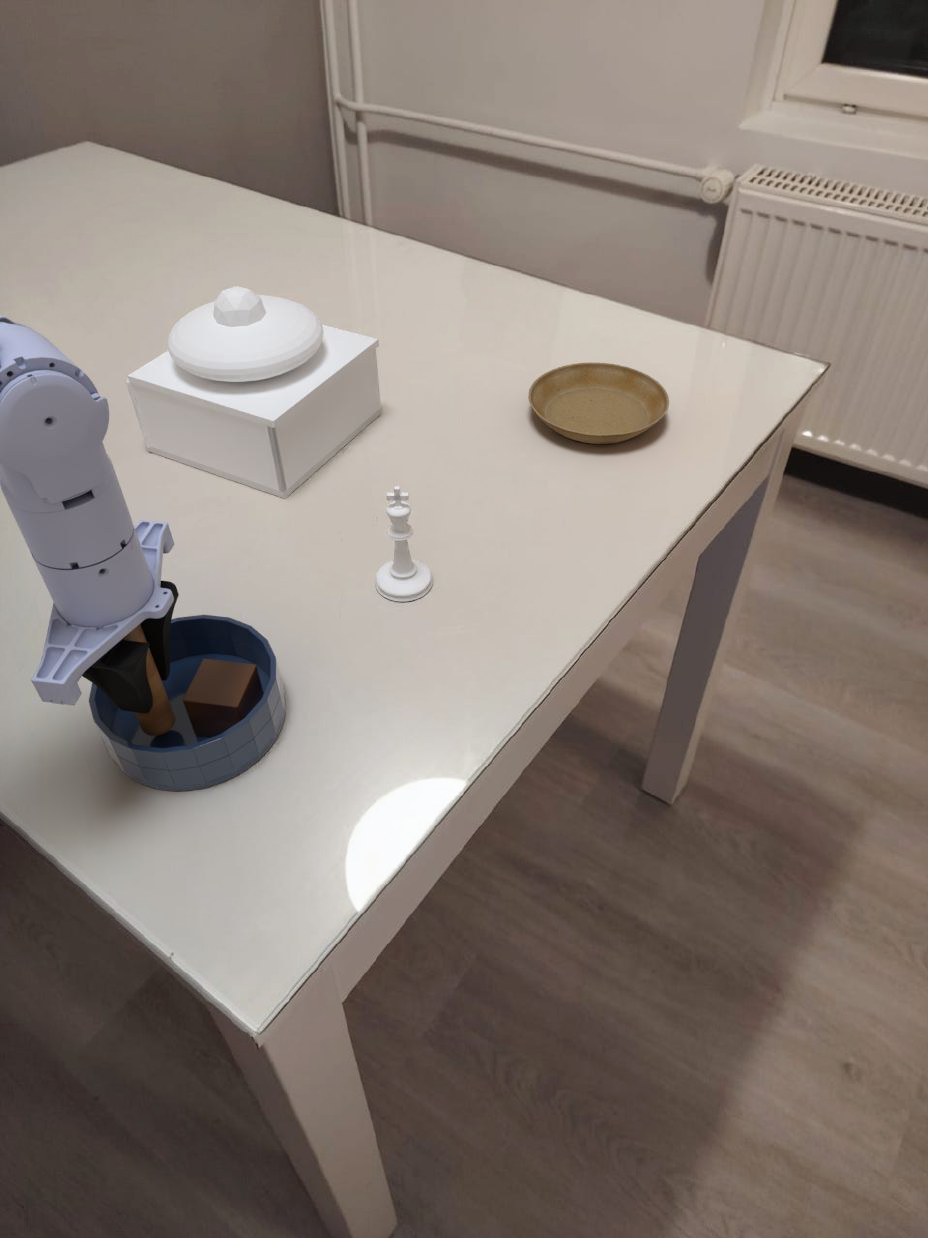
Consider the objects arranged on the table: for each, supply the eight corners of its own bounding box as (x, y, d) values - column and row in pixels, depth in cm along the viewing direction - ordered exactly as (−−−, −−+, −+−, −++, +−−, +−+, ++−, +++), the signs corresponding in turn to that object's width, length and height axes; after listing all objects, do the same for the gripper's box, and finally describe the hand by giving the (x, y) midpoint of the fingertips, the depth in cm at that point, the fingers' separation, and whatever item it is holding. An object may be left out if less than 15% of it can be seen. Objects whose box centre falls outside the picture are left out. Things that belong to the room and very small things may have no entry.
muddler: (135, 734, 61) (87, 623, 53) (149, 708, 63) (104, 596, 55) (167, 738, 61) (123, 627, 53) (180, 712, 62) (140, 600, 55)
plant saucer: (581, 472, 86) (583, 449, 84) (501, 405, 95) (501, 384, 93) (694, 429, 91) (698, 408, 90) (608, 370, 101) (611, 349, 99)
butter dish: (253, 376, 100) (226, 235, 89) (385, 414, 94) (373, 268, 83) (147, 452, 89) (100, 302, 78) (288, 501, 83) (259, 347, 72)
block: (194, 736, 62) (181, 700, 60) (215, 694, 65) (203, 657, 62) (248, 742, 62) (237, 707, 59) (266, 700, 65) (256, 664, 62)
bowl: (77, 779, 61) (55, 739, 57) (152, 647, 70) (137, 607, 66) (252, 802, 59) (240, 763, 56) (306, 665, 68) (298, 624, 65)
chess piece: (431, 602, 73) (426, 507, 66) (373, 601, 73) (362, 506, 66) (434, 563, 76) (429, 469, 69) (378, 563, 77) (368, 469, 70)
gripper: (89, 633, 44) (157, 787, 54) (196, 471, 54) (237, 624, 64) (-38, 619, 45) (51, 772, 55) (91, 461, 55) (147, 614, 65)
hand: (145, 692), depth 59 cm, fingers closed on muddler, 2 cm apart
